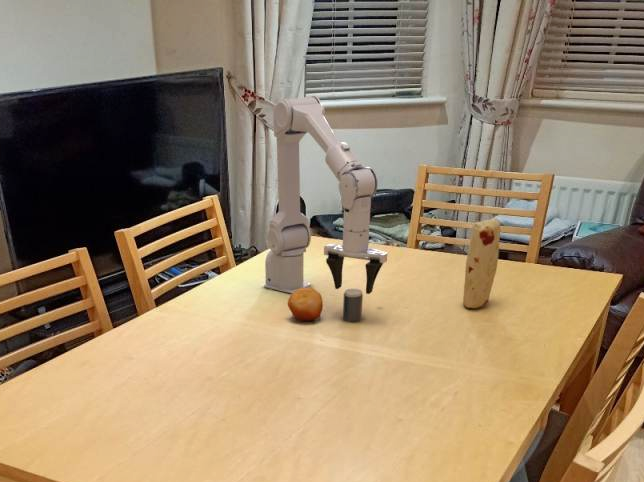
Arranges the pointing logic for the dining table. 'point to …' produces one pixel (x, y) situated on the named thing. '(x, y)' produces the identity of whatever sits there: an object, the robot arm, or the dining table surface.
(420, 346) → the dining table surface
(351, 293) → the salt shaker
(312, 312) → the fruit
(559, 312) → the dining table surface
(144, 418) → the dining table surface
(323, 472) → the dining table surface
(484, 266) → the food model
